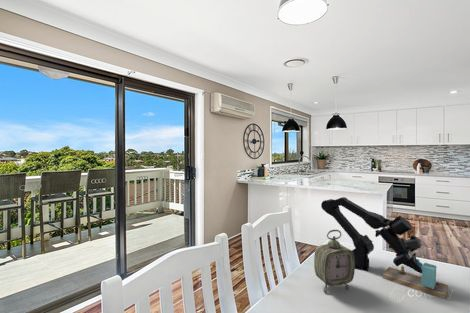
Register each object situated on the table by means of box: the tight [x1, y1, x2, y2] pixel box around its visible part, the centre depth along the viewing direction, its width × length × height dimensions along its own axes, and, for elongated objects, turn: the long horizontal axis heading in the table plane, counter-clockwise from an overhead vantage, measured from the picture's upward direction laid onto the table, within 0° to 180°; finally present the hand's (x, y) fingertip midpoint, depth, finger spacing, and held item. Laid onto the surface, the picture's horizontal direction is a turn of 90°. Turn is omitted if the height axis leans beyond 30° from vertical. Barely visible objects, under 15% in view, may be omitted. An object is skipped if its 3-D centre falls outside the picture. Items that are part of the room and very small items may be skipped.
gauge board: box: [382, 265, 449, 300], centre depth 110 cm, size 22×10×5 cm, turn 44°
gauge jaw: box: [421, 262, 437, 289], centre depth 105 cm, size 4×7×8 cm, turn 134°
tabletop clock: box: [313, 229, 356, 294], centre depth 106 cm, size 14×9×25 cm, turn 105°
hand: (422, 272), depth 106 cm, fingers closed, pressing on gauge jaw
